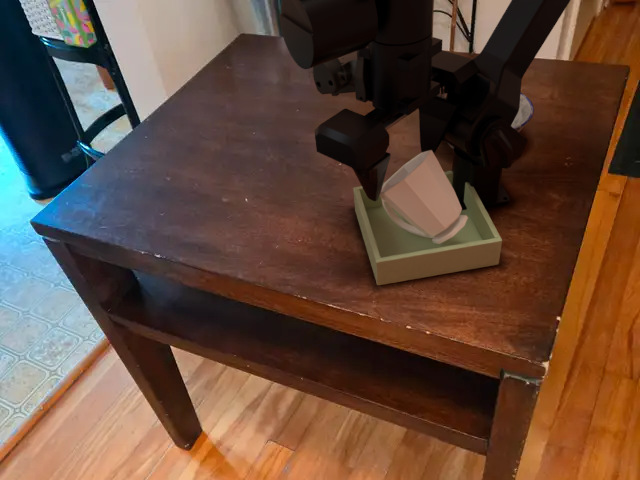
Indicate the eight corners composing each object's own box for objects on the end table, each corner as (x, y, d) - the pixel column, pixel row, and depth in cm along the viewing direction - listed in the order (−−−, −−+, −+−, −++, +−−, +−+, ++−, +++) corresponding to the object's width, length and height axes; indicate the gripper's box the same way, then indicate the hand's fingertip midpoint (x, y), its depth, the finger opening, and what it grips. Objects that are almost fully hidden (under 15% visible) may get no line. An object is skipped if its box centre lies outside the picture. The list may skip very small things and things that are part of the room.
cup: (454, 245, 59) (403, 182, 57) (397, 263, 68) (351, 209, 66) (490, 201, 62) (443, 139, 60) (430, 223, 70) (388, 171, 68)
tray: (498, 264, 64) (502, 240, 61) (377, 285, 64) (376, 262, 61) (461, 191, 73) (463, 168, 70) (355, 210, 73) (353, 187, 70)
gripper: (395, -21, 61) (396, 118, 73) (262, 51, 53) (287, 194, 65) (490, 0, 55) (474, 147, 67) (356, 84, 47) (365, 235, 59)
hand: (400, 178), depth 64 cm, fingers open, 9 cm apart
